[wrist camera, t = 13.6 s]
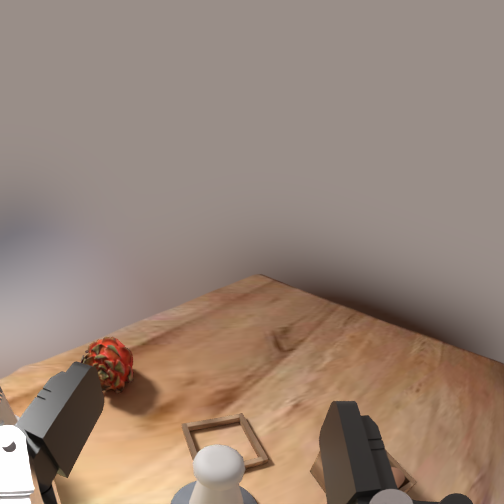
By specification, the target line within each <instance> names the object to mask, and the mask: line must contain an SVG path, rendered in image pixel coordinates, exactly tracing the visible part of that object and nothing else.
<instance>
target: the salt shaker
mask: <svg viewBox="0 0 504 504" xmlns="http://www.w3.org/2000/svg"><path fill="white" fill-rule="evenodd" d="M193 470H194V476H195V477H196V478H197V481H196V484H195V487H194V490H193V492H192V495H191V498H190V501H189V504H244V503H243V498H242V494H241V491H240V487H239V482H241V480H242V477H243V474H244V472H245V465H244V461H243V457H242V456H241V455H240V454H239V453H238V452H237V450H235V449H233V448H231V447H229V446H225V445H211V446H206V447H204V448H203V449H202V450H200V451H199V452H198V453H197V455H196V457H195V458H194V461H193Z"/></svg>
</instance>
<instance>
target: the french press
mask: <svg viewBox="0 0 504 504" xmlns="http://www.w3.org/2000/svg"><path fill="white" fill-rule="evenodd" d="M0 392H1V393H2V395H1V394H0V396H1V397H2V399H1V398H0V400H1V402H0V427H3V426H12V427H13V426H14V425H15V424H16V423H17V421H18V420H19V419H20V418H19V417H18V416H16V415H14V413H13V411H12V409H11V407H10V405H9V403H8V401H7V399H6V397H5V395H4V393H3V391H2V389H1V387H0Z"/></svg>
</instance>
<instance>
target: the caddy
mask: <svg viewBox="0 0 504 504" xmlns="http://www.w3.org/2000/svg"><path fill="white" fill-rule="evenodd" d="M386 453H387V456H388V459H389V462H390V465H391V469H392V472H393V475H394V478H395V482H396V485H397V487H398V489H399V490H400V491H402V492H404V493H407V492H408V491H409V490H410V489H411V488H412V487H413V486H414V485H415V484H416V481H415V480H414V479H413V478H412V477H411V476H410V475H409V474H408V473H407V472H406V471H405V470H404V469H403V468H402V467H401V466H400V465H399V463H398V462H397V461H396V460H395V459H394V458H393V457H392V456H391V455H390V454H389V453H388V452H387V451H386ZM310 472H311V474H312V475H313V476H314V478H315V479H316V481H317V482H318V483H319V485H320V486H321V488H322V489H323V490H324V492H325V493H326V489H325V481H324V474H323V466H322V459H321V452H319V454H318V456H317V458H316V460H315V462H314V464H313V466H312V468H311V470H310Z"/></svg>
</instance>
